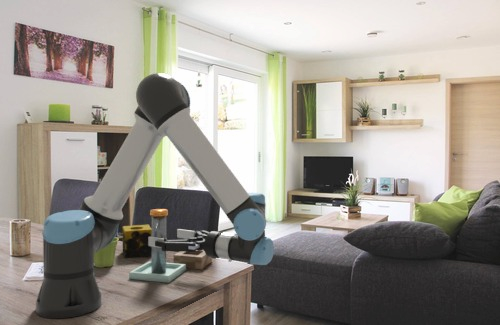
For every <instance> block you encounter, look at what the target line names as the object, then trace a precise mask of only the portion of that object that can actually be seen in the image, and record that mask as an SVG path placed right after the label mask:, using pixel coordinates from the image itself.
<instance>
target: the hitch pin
mask: <svg viewBox="0 0 500 325" xmlns="http://www.w3.org/2000/svg"><path fill="white" fill-rule="evenodd" d="M149 212H150V213H149V215H150V216H151V229H152V237H157V238H166V239H167V216H168V215H169V210H168V209H166V208H156V209H150V211H149ZM151 261H152V273H154V274H163V273H165V272H166V263H167V251H162V248H158V247H152V256H151Z"/></svg>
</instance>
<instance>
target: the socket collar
mask: <svg viewBox="0 0 500 325" xmlns="http://www.w3.org/2000/svg"><path fill="white" fill-rule="evenodd" d="M212 261H213V257H208V256H207V255H206V253H205V251H204V250H202V251H198V250H196V252H184V251H177V252H176V253H175V254H173V263H177V264H186V269H192V270H203V269H204V268H206V267H207V266H208V265H210V264H211V263H212Z"/></svg>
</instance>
